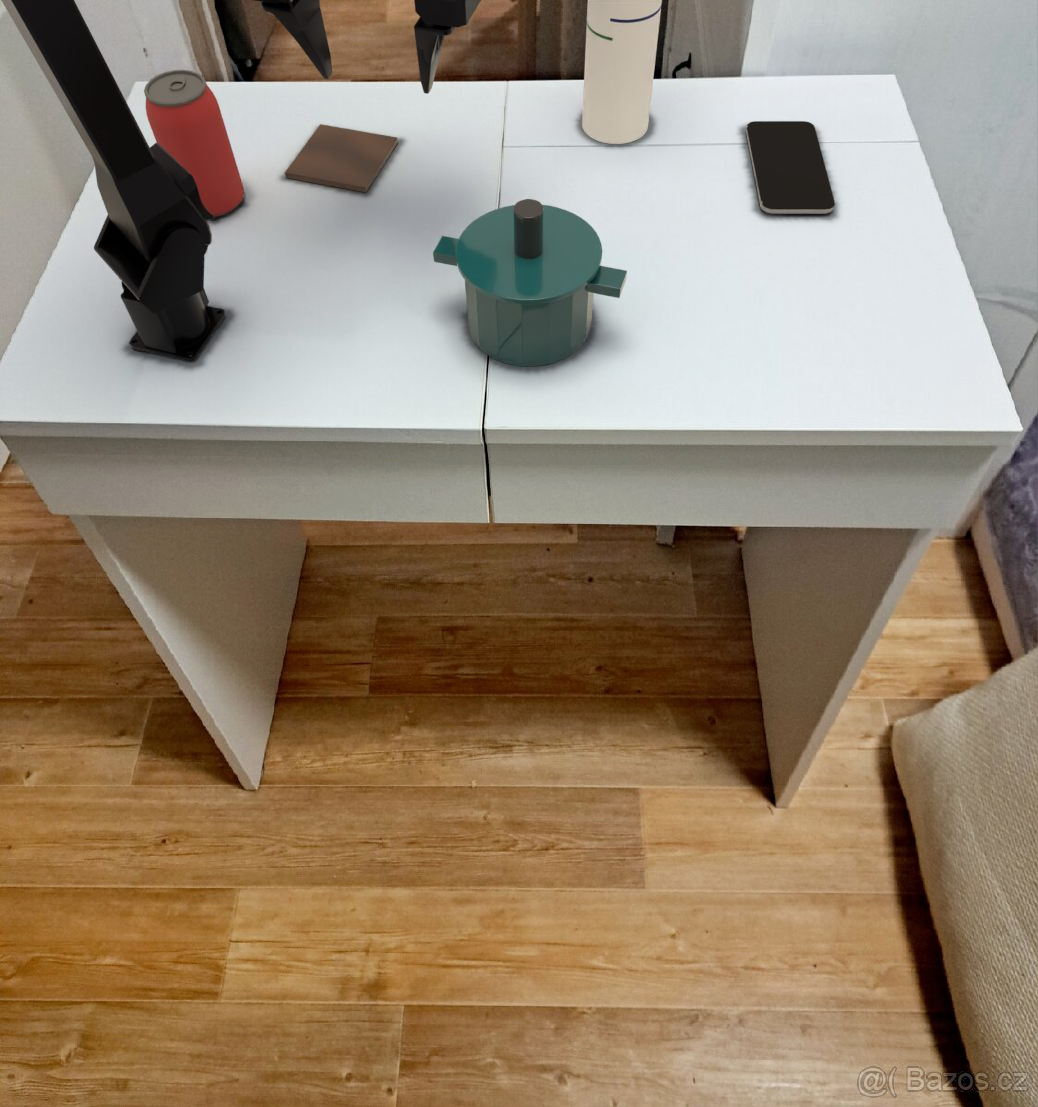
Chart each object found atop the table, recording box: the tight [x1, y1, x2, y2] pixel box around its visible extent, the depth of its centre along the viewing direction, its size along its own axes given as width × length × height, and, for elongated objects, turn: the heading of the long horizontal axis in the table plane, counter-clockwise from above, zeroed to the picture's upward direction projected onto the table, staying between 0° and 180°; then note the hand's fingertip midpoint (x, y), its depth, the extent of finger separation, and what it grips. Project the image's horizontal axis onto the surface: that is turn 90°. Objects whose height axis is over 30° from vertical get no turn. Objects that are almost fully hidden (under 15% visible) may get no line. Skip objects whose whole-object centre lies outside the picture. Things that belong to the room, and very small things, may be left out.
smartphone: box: [745, 120, 836, 215], centre depth 95 cm, size 7×1×15 cm
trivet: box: [284, 124, 399, 193], centre depth 97 cm, size 9×9×1 cm
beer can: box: [143, 69, 245, 218], centre depth 89 cm, size 7×7×12 cm
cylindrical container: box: [581, 0, 663, 145], centre depth 89 cm, size 7×7×25 cm
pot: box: [432, 235, 628, 367], centre depth 80 cm, size 11×16×8 cm
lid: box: [456, 198, 603, 304], centre depth 75 cm, size 12×12×5 cm
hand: (377, 83), depth 80 cm, fingers open, 9 cm apart
